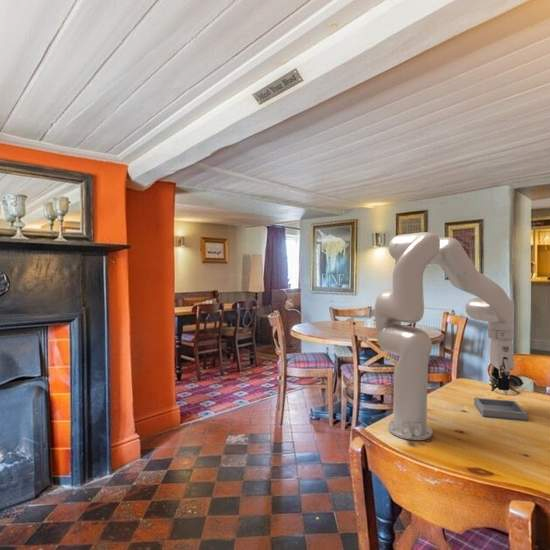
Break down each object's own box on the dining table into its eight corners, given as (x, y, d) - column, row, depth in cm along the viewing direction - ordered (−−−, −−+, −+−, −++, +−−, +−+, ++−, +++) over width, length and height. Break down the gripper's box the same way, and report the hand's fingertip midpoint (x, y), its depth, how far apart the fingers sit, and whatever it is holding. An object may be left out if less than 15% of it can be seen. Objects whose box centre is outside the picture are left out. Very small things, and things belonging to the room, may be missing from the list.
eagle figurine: (497, 393, 126) (527, 389, 124) (489, 372, 129) (518, 368, 128) (492, 399, 132) (520, 395, 130) (484, 378, 136) (511, 375, 134)
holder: (527, 421, 123) (527, 413, 123) (483, 416, 126) (483, 409, 126) (514, 407, 135) (514, 400, 134) (474, 404, 138) (474, 397, 138)
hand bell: (521, 396, 146) (522, 355, 146) (498, 394, 148) (498, 353, 148) (512, 389, 155) (513, 350, 154) (490, 388, 156) (491, 349, 156)
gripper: (522, 339, 120) (521, 396, 121) (504, 330, 137) (504, 379, 138) (496, 338, 122) (495, 394, 123) (481, 329, 139) (481, 378, 140)
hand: (500, 386), depth 130 cm, fingers closed on eagle figurine, 6 cm apart
